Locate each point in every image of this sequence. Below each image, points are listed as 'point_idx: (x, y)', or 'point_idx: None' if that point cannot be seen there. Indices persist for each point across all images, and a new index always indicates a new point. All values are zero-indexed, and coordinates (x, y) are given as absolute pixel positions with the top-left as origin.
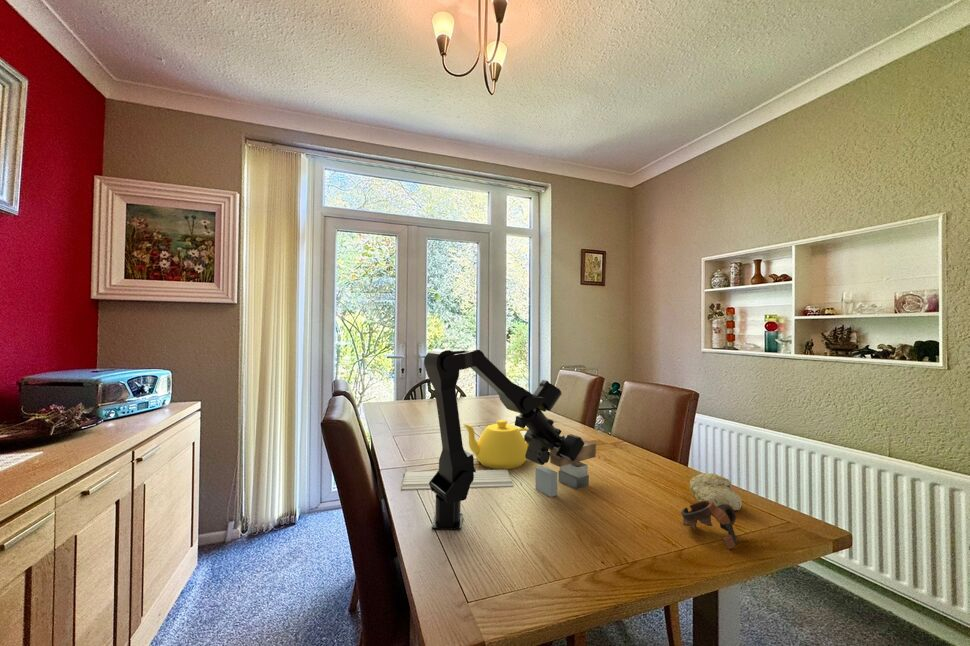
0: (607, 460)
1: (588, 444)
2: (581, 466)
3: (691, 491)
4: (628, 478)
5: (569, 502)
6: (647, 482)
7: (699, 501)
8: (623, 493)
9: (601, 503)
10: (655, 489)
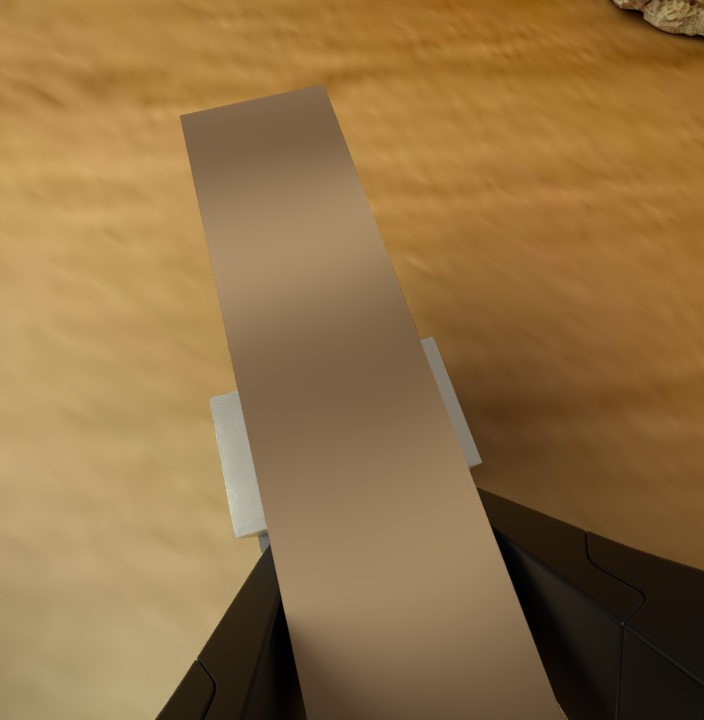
0: (110, 85)
1: (333, 167)
2: (462, 413)
3: (627, 2)
4: (371, 129)
5: None
6: (440, 84)
7: (688, 32)
8: (545, 257)
9: (663, 451)
10: (523, 99)
